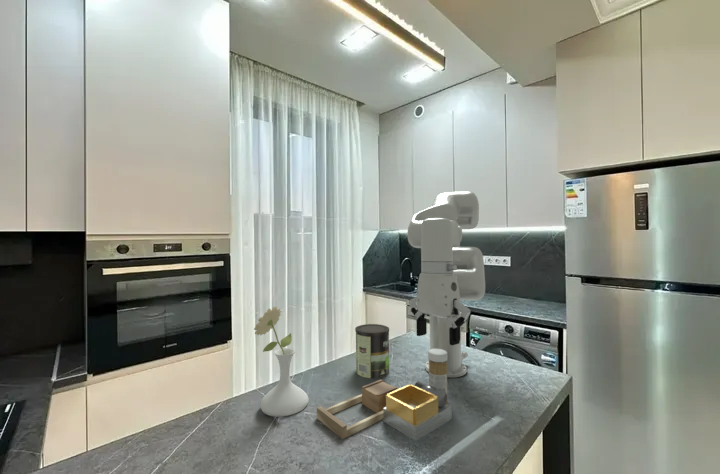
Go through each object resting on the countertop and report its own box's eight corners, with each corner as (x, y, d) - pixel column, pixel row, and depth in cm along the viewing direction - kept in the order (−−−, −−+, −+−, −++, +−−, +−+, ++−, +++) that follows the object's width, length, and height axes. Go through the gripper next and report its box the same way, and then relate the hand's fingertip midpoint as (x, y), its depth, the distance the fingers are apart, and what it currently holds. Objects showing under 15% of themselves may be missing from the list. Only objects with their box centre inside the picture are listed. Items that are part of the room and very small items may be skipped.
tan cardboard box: (380, 396, 79) (380, 379, 79) (397, 405, 75) (397, 387, 75) (361, 404, 75) (361, 386, 75) (378, 414, 71) (378, 395, 71)
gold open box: (419, 407, 76) (419, 377, 76) (451, 424, 69) (451, 391, 69) (383, 426, 68) (383, 393, 68) (415, 447, 61) (415, 410, 61)
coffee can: (391, 369, 99) (390, 324, 99) (387, 383, 89) (387, 333, 89) (359, 366, 101) (359, 322, 101) (352, 380, 91) (351, 331, 91)
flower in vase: (292, 392, 84) (292, 298, 84) (318, 409, 75) (317, 304, 76) (244, 411, 75) (245, 306, 75) (268, 432, 66) (268, 313, 67)
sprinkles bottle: (447, 403, 78) (447, 348, 78) (448, 412, 74) (447, 355, 74) (428, 400, 79) (428, 347, 79) (428, 410, 75) (427, 353, 75)
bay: (378, 397, 81) (378, 383, 81) (406, 412, 74) (405, 397, 74) (316, 423, 69) (316, 407, 69) (342, 445, 62) (342, 427, 62)
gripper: (477, 270, 73) (478, 344, 72) (419, 266, 86) (419, 329, 85) (459, 271, 68) (459, 351, 67) (400, 267, 81) (400, 334, 80)
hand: (437, 339), depth 76 cm, fingers open, 9 cm apart
